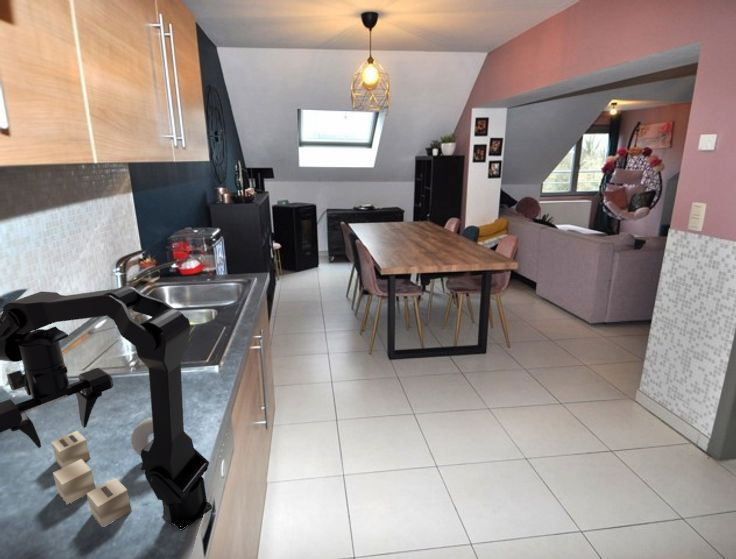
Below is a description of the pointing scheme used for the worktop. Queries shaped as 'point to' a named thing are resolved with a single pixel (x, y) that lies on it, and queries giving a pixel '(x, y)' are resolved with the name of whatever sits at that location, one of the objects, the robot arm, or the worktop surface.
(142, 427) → the donut
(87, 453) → the two stroke block
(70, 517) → the worktop surface
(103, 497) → the one stroke block
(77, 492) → the plain block
